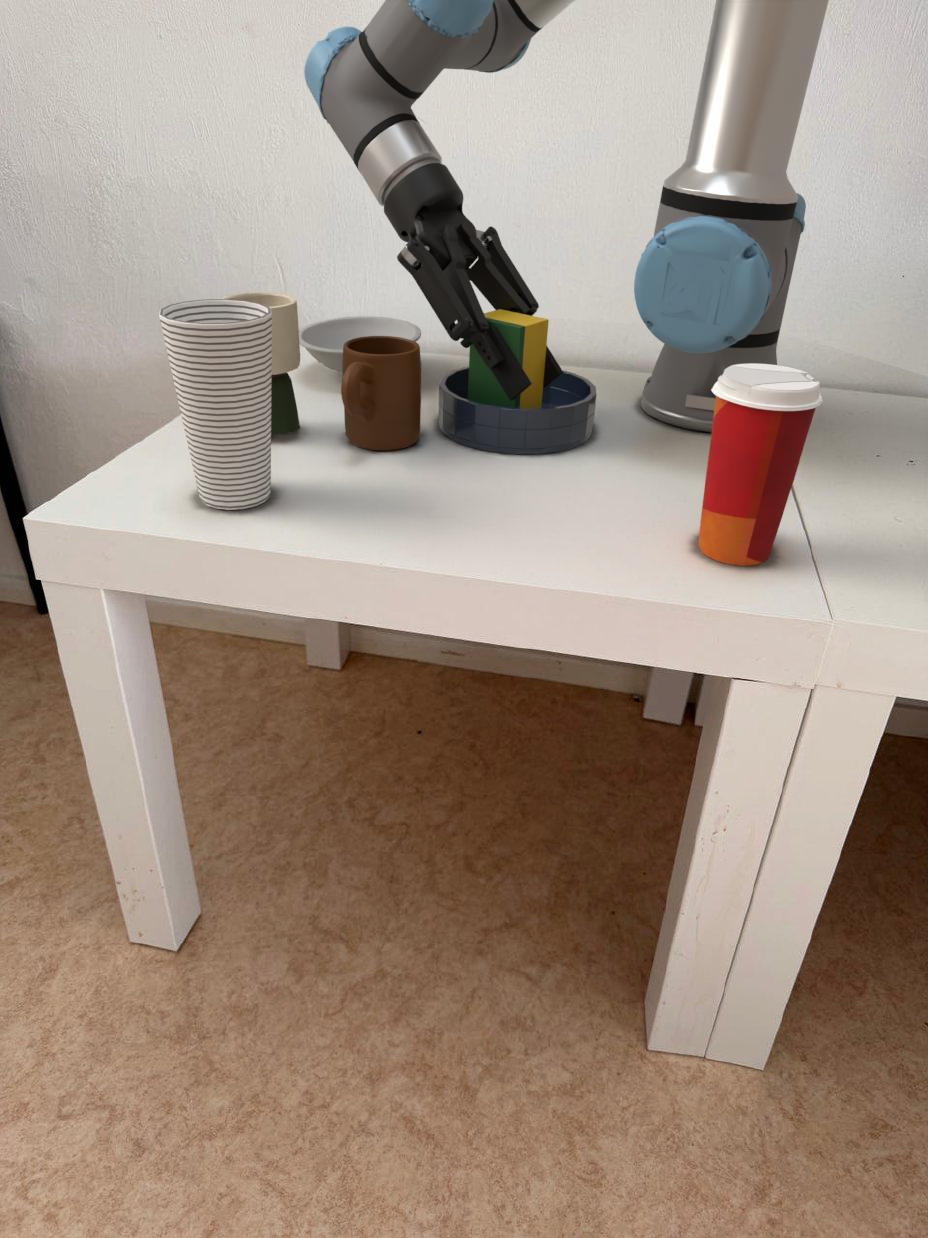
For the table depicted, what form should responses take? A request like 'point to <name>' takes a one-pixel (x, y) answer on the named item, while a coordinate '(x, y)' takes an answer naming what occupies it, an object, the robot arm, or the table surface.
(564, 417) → the bowl
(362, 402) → the mug
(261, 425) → the cup
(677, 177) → the robot arm
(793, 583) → the table surface
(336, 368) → the dish
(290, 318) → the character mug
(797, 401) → the paper cup
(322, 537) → the table surface
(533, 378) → the sponge
